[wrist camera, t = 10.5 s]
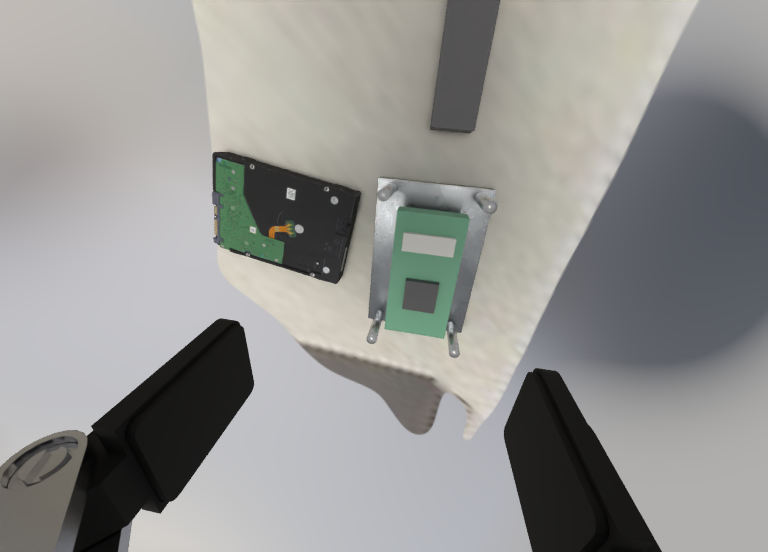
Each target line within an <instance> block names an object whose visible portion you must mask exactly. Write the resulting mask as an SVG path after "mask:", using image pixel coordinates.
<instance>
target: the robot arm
mask: <svg viewBox="0 0 768 552" xmlns="http://www.w3.org/2000/svg"><path fill="white" fill-rule="evenodd" d="M253 387H254V380H253V375H252V369H251V364H250V359H249V353H248V348H247V343H246V338H245V332H244V328H243V327H242V326H240V323H239V322H238V321H234V320H227V319H218V320H216V321H215V322H214V323H213V324H212V325H210V326H209V327H208V328H207V329H206V330H204V331H203V332H202V333H201V334H200V335H198V336H197V337H196V338H195V339H194V340H193V341H191V342H190V343H189V344H188V345H187V346H185V347H184V348H183V349H182V350H181V351H180V352H178V353H177V354H176V355H175V356H174V357H173V358H171V359H170V360H169V361H168V362H166V363H165V365H163V366H162V367H161V368H159V369H158V370H157V371H156V372H155V373H153V375H151V376H150V377H149V378H148V379H146V380H145V381H144V382H143V383H142V384H141V385H139V386H138V387H137V388H136V389H135V390H133V391H132V392H131V393H130V394H129V395H127V396H126V397H125V398H124V399H123V400H122V401H120V402H119V403H118V404H117V405H116V406H114V407H113V408H112V409H111V410H110V411H109V412H107V413H106V414H105V415H104V416H103V417H101V418H100V419H99V420H98V421H97V422H95V423H94V424H93V425H92V428H93V431H92V432H91V433H90V434H89V435H87V436H86V435H85V434H84V433H83V432H80V431H78V430H68V431H62V432H58V433H54V434H51V435H49V436H46V437H44V438H41V439H39V440H37V441H35V442H33V443H31V444H30V445H28V446H26V447H24V448H23V449H22V450H20V451H19V452H17V453H16V454H14V455H13V456H12V457H10V458H9V459H8V460H7V461H6V462H5V463H4V464H3V465H2V466H1V467H0V552H128V547H129V540H130V533H131V525H132V520H133V518H134V517H135V515H137V513H138V512H139V511H140V509H141V508H142V509H143V510H147V511H152V512H156V513H161V512H162V511H163V510H164V508H165V507H166V505H167V504H168V503H169V502H170V501H173V500H175V499H176V498H177V497H178V495H179V494H180V493H181V492H182V490H183V489H184V487H185V486H186V484H187V483H188V482H189V480H190V479H191V477H192V476H193V475H194V473H195V472H196V470H197V469H198V467H199V466H200V465H201V463H202V462H203V460H204V459H205V457H206V456H207V455H208V453H209V452H210V450H211V449H212V448H213V446H214V445H215V443H216V442H217V440H218V439H219V438H220V436H221V435H222V433H223V432H224V431H225V429H226V428H227V426H228V425H229V423H230V422H231V421H232V419H233V418H234V416H235V415H236V413H237V412H238V411H239V409H240V408H241V407H242V405H243V404H244V402H245V401H246V399H247V398H248V396H249V395H250V394H251V392H252V390H253ZM504 439H505V444H506V448H507V452H508V455H509V460H510V464H511V468H512V472H513V476H514V480H515V484H516V488H517V492H518V495H519V499H520V504H521V508H522V512H523V515H524V520H525V524H526V527H527V532H528V536H529V539H530V543H531V547H532V551H533V552H662V551H661V550H660V548H659V546H658V544H657V543H656V541H655V539H654V537H653V536H652V533H651V532H650V530H649V528H648V527H647V525H646V523H645V521H644V519H643V518H642V516H641V514H640V512H639V511H638V509H637V507H636V505H635V503H634V502H633V500H632V498H631V496H630V495H629V493H628V491H627V489H626V488H625V486H624V484H623V482H622V480H621V479H620V477H619V475H618V473H617V472H616V470H615V468H614V466H613V465H612V463H611V461H610V459H609V457H608V456H607V454H606V452H605V450H604V449H603V447H602V445H601V443H600V442H599V440H598V438H597V436H596V434H595V433H594V431H593V430H592V428H591V427H590V426H589V425H588V424H587V422H586V420H585V419H584V417H583V415H582V413H581V411H580V410H579V408H578V406H577V404H576V402H575V401H574V399H573V397H572V395H571V393H570V392H569V390H568V388H567V387H566V384H565V383H564V381H563V379H562V377H561V376H560V374H559V373H558V372H556V371H552V370H545V369H539V368H536V369H534V371H533V372H528V373H527V375H526V377H525V380H524V382H523V385H522V387H521V389H520V392H519V394H518V397H517V399H516V401H515V404H514V406H513V409H512V411H511V414H510V416H509V418H508V421H507V423H506V426H505V428H504Z"/></svg>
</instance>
